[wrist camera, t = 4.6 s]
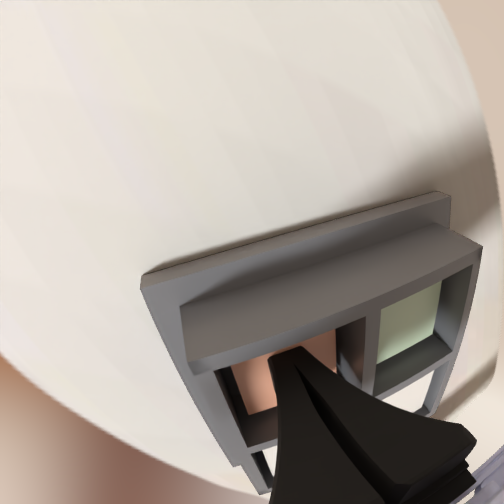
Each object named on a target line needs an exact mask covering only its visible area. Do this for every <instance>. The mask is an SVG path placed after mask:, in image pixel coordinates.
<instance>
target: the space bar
mask: <svg viewBox="0 0 504 504" xmlns="http://www.w3.org/2000/svg"><path fill="white" fill-rule="evenodd" d="M433 373H434V370H433V371H432V372H430V373H429V374H427V375H425V376H424V377H422V378H420V379H419V380H417V381H415V382H414V383H412V384H410V385H409V386H407V387H405V388H403V389H402V390H400V391H398V392H396V393H394V394H393V395H391V396H389V397H387V398H385V399H383V400H382V401H384V402H386V403H388V404H391V405H393V406H395V407H398V408H401V409H403V410H406V411H409V412H412V413H413V412H415V411H416V410H418V409H419V408H421V407H422V405H423V402H424V400H425V397H426V394H427V391H428V388H429V385H430V382H431V379H432V376H433ZM262 451H263V454H264V456H265V459H266V461H267V463H268V466H269V468H270V471H271V473H272V475H273V476H274V473H275V466H276V456H277V446H274V447H271V448H268V449H264V450H262Z"/></svg>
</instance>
